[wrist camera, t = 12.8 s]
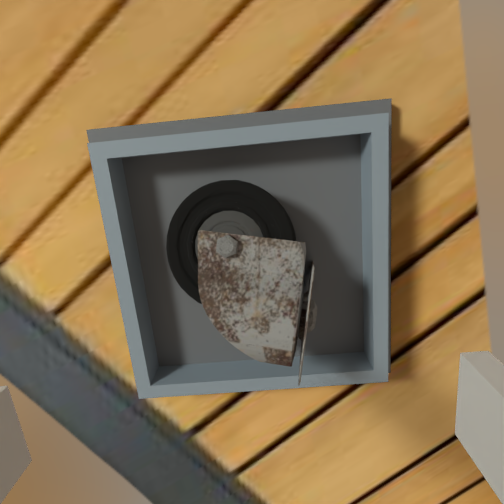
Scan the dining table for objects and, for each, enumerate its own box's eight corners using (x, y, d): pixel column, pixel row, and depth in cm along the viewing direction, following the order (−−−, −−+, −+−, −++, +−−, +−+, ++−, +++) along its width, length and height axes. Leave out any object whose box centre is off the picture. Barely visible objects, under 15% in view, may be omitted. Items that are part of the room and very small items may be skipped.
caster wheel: (194, 184, 28) (329, 197, 26) (178, 330, 28) (309, 352, 27) (159, 166, 21) (336, 183, 20) (138, 359, 22) (309, 389, 20)
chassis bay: (93, 130, 25) (67, 127, 22) (386, 100, 24) (406, 92, 21) (142, 382, 31) (128, 411, 27) (386, 365, 30) (402, 392, 26)
